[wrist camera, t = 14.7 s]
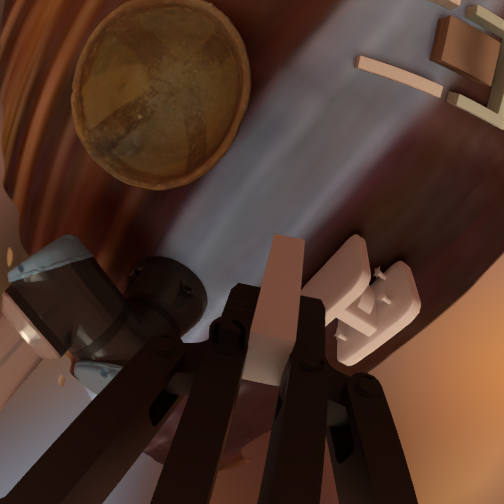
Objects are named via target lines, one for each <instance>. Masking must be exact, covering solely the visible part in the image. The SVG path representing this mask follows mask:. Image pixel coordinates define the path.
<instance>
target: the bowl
mask: <svg viewBox="0 0 504 504" xmlns="http://www.w3.org/2000/svg"><path fill="white" fill-rule="evenodd" d="M72 88H73V92H72V95H71V107H72V117H73V121H74V126H75V129H76V132H77V134H78V136H79V138H80V140H81V142H82V144H83V145H84V147H85V149H86V150H87V152H88V154H89V155H90V156H91V157H92V158H93V159H94V160H95V161H96V162H97V163H98V164H99V165H100V166H101V167H102V168H103V169H105V170H106V171H107V172H108V173H110V174H111V175H112V176H113V177H115V178H116V179H118V180H120V181H122V182H123V183H126V184H129V185H133V186H137V187H141V188H146V189H149V190H166V189H171V188H175V187H180V186H184V185H186V184H189V183H191V182H193V181H195V180H196V179H197V178H199V177H201V176H203V175H204V174H205V173H207V172H208V171H209V170H211V169H212V168H213V167H214V166H215V165H216V164H217V163H218V161H219V160H220V159H221V158H222V157H223V156H224V155H225V154H226V152H227V151H228V150H229V148H230V146H231V145H232V143H233V141H234V139H235V138H236V136H237V134H238V131H239V128H240V125H241V123H242V121H243V119H244V117H245V115H246V112H247V109H248V105H249V101H250V96H251V89H252V80H251V68H250V62H249V58H248V54H247V49H246V46H245V43H244V41H243V39H242V37H241V35H240V33H239V32H238V30H237V28H236V27H235V26H234V24H233V23H232V21H231V20H230V19H229V18H228V17H227V16H226V15H225V14H224V13H223V12H222V11H221V10H220V9H219V8H217V7H215V6H214V5H213V4H212V3H210V2H208V1H206V0H130V1H128V2H125V3H124V4H122V5H121V6H119V7H118V8H116V9H115V10H114V11H112V12H111V13H110V14H109V15H107V16H106V17H105V18H104V19H103V20H102V21H101V22H100V23H99V24H98V26H97V27H96V28H95V30H94V31H93V32H92V34H91V36H90V37H89V39H88V41H87V42H86V44H85V46H84V48H83V50H82V53H81V55H80V57H79V60H78V63H77V67H76V71H75V75H74V79H73V84H72Z"/></svg>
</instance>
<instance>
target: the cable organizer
mask: <svg viewBox="0 0 504 504" xmlns="http://www.w3.org/2000/svg"><path fill="white" fill-rule="evenodd" d="M373 276H376V278H377V277H378V276H379V278H378V279H377V280H376V281H375V282H374V283H373V284H371V285H369V282H370V279H371V272H370V266H369V260H368V254H367V248H366V242H365V240H364V239H363V238H361V237H360V236H359V235H357V234H355V235H353V236H351V237H350V238H349V239H348V240H347V241H346V242H345V243H344V244H343V245H342V246H341V247H340V248H339V250H338V251H337V252H336V253H335V254H334V255H333V256H332V257H331V258H330V259H329V260H328V261H327V262H326V264H325V265H324V266H323V267H322V268H321V269H320V270H319V271H318V272H317V273H316V274H315V275H314V276H313V277H312V278H311V279H310V280H309V281H308V282H307V284H306V285H305V286H304V287H303V288H302V290H301V293H300V295H302V296H307V297H312V298H317V299H321V301H322V302H323V304H324V306H325V308H326V315H325V326H326V325H327V324H329V323H330V322H331V321H332V320H333V319H334V318H338V328H337V332H336V334H335V335H334V336H336V337H337V339H338V345H337V359H338V361H339V362H341V363H343V364H345V365H347V366H351V365H354V364H356V363H357V362H359V361H360V360H362V359H363V358H364V357H366V356H367V355H368V354H370V353H371V352H373V351H374V350H375V349H377V348H378V347H379V346H381V345H382V344H383V343H385V342H386V341H387V340H389V339H390V338H391V337H393V336H394V335H395V334H396V333H398V332H399V331H400V330H402V329H403V328H404V327H405V326H407V325H408V324H409V323H411V322H412V320H413V319H414V318H415V317H416V316H417V314H419V312H420V307H421V302H420V298H419V295H418V291H417V288H416V285H415V281H414V278H413V275H412V272H411V269H410V267H409V266H408V265H406V264H405V263H404V262H403V261H398V262H396V263H394V264H393V265H391V266H390V267H389V268H388V269H387V270H386V271H385V272H384V273H382V272H381V271H380V266H379V268H378V269H376V268H375V274H374V275H373Z"/></svg>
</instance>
